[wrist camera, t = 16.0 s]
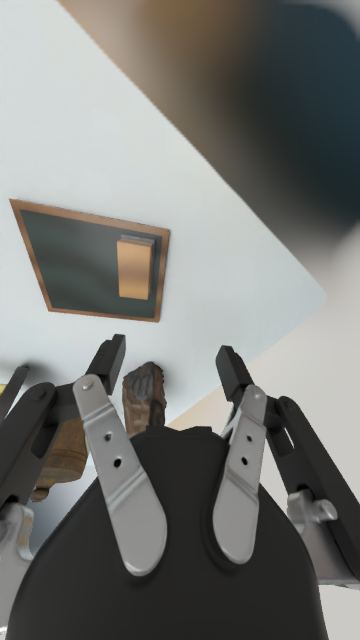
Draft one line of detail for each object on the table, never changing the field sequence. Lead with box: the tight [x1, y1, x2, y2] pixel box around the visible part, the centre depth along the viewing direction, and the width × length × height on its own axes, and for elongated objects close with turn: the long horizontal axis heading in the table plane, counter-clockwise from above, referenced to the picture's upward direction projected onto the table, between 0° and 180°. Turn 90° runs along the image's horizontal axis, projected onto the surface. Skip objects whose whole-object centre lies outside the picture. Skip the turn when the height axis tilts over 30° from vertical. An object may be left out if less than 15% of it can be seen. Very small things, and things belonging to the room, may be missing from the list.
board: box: [9, 199, 169, 322], centre depth 28 cm, size 18×22×2 cm
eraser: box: [117, 233, 156, 300], centre depth 24 cm, size 9×5×5 cm, turn 170°
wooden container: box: [30, 417, 90, 502], centre depth 42 cm, size 15×15×22 cm
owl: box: [122, 362, 167, 438], centre depth 38 cm, size 13×13×20 cm
